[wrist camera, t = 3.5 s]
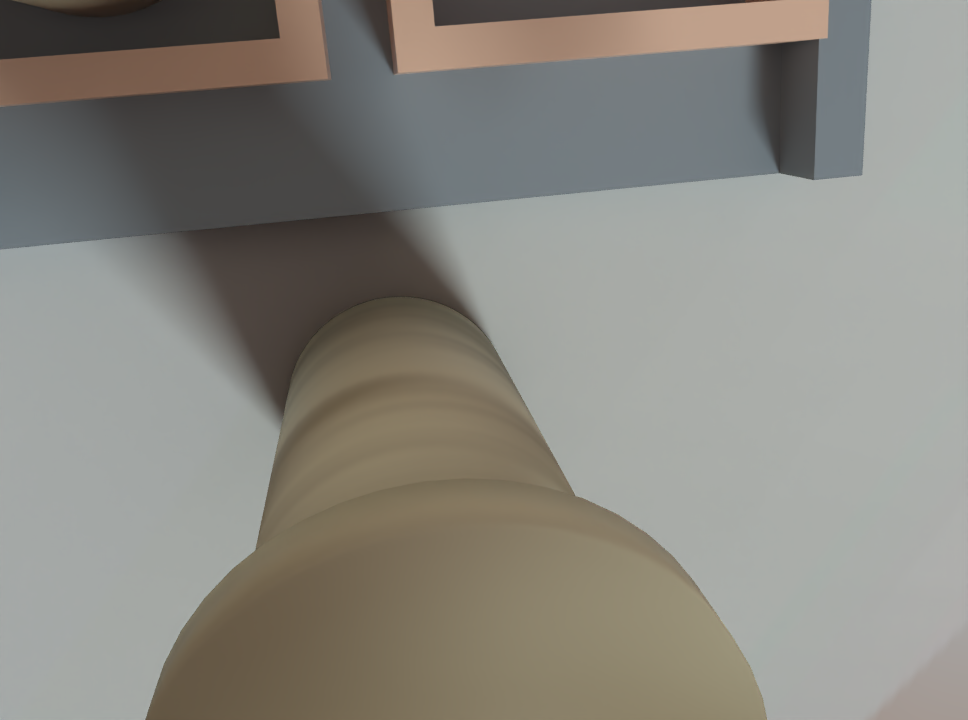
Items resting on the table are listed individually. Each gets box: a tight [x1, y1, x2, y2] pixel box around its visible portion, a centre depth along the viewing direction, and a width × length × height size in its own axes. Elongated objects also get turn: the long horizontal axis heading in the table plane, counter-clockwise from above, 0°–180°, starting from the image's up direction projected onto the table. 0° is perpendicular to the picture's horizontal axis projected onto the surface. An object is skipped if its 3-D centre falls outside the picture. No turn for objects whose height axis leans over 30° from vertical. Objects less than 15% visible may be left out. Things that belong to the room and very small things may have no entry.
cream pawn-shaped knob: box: [146, 297, 767, 720], centre depth 14 cm, size 6×6×12 cm
